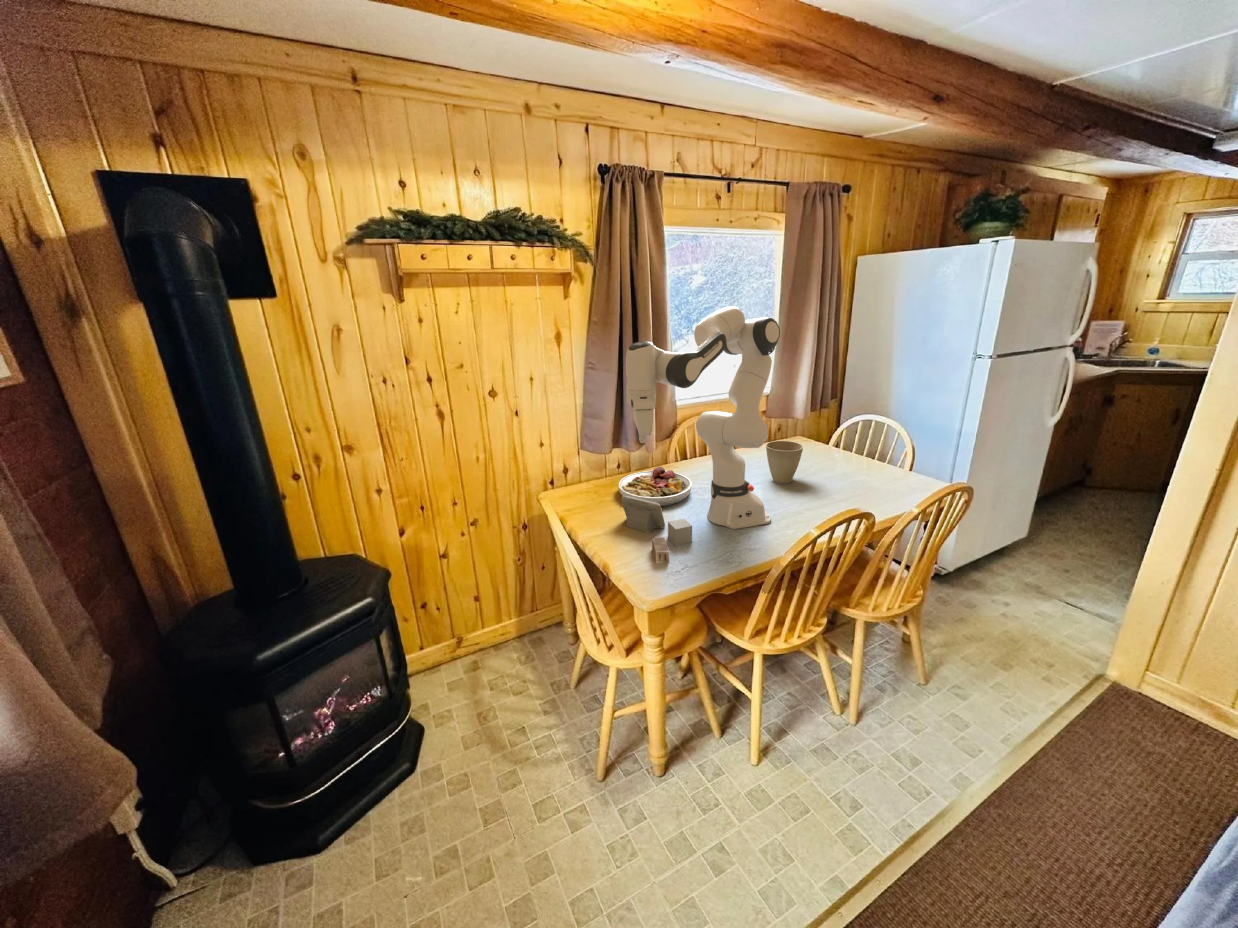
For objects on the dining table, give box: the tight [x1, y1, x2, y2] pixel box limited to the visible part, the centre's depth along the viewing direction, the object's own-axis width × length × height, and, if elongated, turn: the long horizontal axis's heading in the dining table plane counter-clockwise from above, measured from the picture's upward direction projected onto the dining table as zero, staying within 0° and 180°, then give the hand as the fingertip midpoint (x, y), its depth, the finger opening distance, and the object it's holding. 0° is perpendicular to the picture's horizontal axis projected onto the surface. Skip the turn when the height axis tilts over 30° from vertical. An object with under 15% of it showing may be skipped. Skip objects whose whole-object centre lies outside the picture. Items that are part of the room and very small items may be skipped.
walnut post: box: [651, 536, 670, 564], centre depth 150 cm, size 4×4×9 cm
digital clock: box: [621, 495, 666, 533], centre depth 169 cm, size 16×9×11 cm, turn 44°
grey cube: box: [667, 518, 693, 546], centre depth 159 cm, size 6×6×6 cm
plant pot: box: [765, 440, 804, 484], centre depth 203 cm, size 15×15×16 cm
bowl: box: [618, 466, 692, 507], centre depth 197 cm, size 30×30×8 cm
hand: (642, 441), depth 148 cm, fingers closed
